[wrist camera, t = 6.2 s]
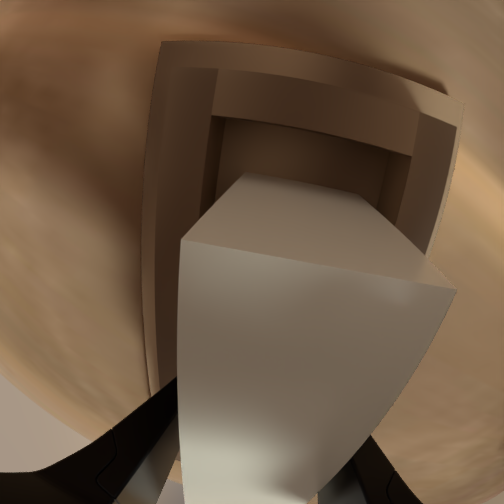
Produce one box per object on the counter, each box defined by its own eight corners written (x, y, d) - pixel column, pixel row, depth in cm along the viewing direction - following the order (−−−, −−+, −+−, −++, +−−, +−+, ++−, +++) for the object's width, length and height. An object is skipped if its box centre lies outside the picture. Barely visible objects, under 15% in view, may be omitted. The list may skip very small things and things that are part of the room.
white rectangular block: (357, 193, 9) (457, 289, 3) (279, 429, 13) (272, 532, 8) (245, 171, 9) (180, 239, 3) (212, 418, 13) (186, 519, 8)
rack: (453, 104, 8) (495, 101, 5) (315, 455, 15) (316, 488, 13) (170, 47, 8) (136, 25, 6) (161, 428, 16) (149, 460, 13)
